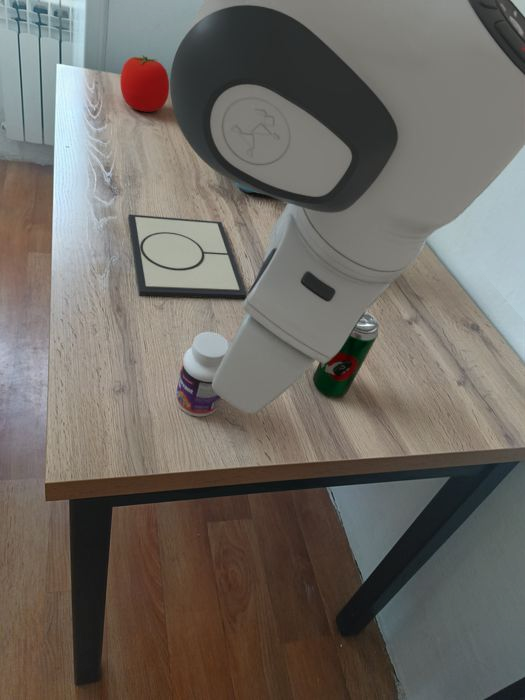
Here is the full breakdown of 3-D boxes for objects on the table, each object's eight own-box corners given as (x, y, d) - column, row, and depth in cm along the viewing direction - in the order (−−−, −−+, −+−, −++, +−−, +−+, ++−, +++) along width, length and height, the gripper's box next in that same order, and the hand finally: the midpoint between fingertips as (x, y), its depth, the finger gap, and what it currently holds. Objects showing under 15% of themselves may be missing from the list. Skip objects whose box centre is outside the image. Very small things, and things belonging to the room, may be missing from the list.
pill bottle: (170, 386, 66) (181, 328, 60) (211, 381, 68) (227, 325, 62) (181, 420, 63) (194, 363, 56) (224, 414, 65) (242, 359, 58)
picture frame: (139, 295, 77) (139, 289, 76) (128, 218, 90) (128, 212, 89) (245, 299, 82) (247, 293, 81) (220, 225, 95) (221, 220, 94)
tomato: (169, 121, 121) (175, 71, 114) (121, 115, 117) (124, 62, 110) (162, 102, 128) (167, 53, 121) (116, 95, 124) (119, 45, 117)
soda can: (353, 397, 73) (389, 332, 65) (321, 402, 70) (354, 336, 62) (336, 370, 76) (368, 305, 68) (305, 374, 74) (334, 307, 65)
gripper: (344, 152, 43) (271, 259, 54) (237, 311, 30) (169, 410, 41) (407, 198, 44) (323, 295, 54) (329, 373, 31) (238, 456, 41)
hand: (256, 346), depth 47 cm, fingers open, 8 cm apart
